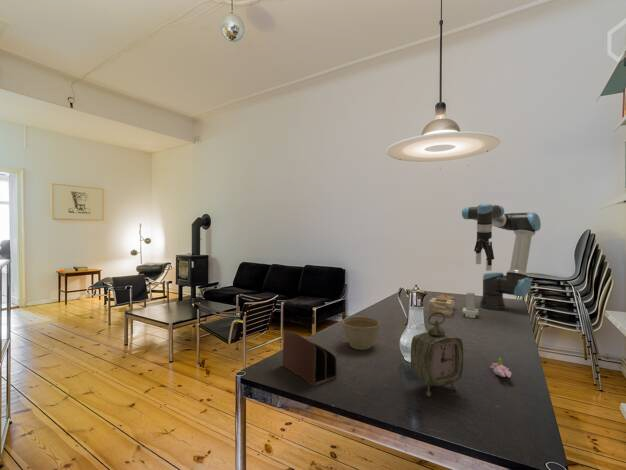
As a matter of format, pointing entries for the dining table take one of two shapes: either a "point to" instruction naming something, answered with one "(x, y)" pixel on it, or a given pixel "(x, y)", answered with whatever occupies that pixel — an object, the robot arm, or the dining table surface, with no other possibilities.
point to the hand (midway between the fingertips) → (483, 267)
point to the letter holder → (308, 359)
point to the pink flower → (500, 369)
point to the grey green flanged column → (470, 305)
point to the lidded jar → (446, 297)
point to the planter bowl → (360, 331)
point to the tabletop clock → (437, 356)
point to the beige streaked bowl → (441, 306)
